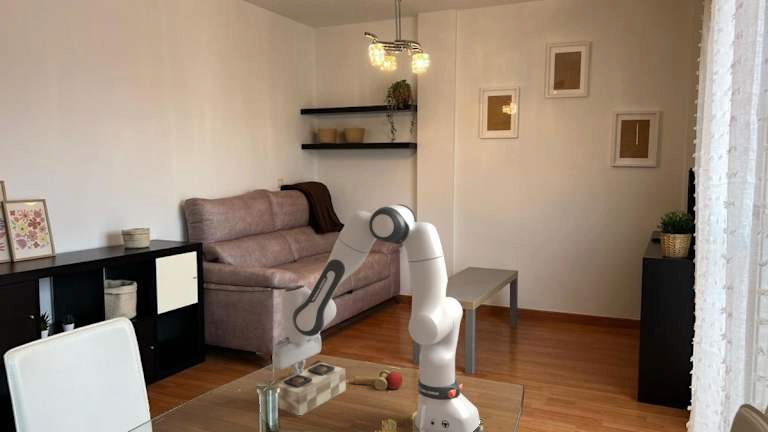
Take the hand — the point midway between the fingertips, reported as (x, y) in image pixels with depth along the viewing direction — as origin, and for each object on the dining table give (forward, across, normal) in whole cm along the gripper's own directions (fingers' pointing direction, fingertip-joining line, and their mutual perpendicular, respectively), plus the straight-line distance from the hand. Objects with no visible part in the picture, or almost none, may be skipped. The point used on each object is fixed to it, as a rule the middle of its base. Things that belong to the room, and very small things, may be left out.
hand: (298, 373), depth 193 cm
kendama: (+12, +27, -13) cm, 33 cm away
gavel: (+12, +24, +16) cm, 31 cm away
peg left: (+11, 0, +1) cm, 11 cm away
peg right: (+11, +12, +1) cm, 16 cm away
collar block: (+11, +6, +1) cm, 13 cm away
